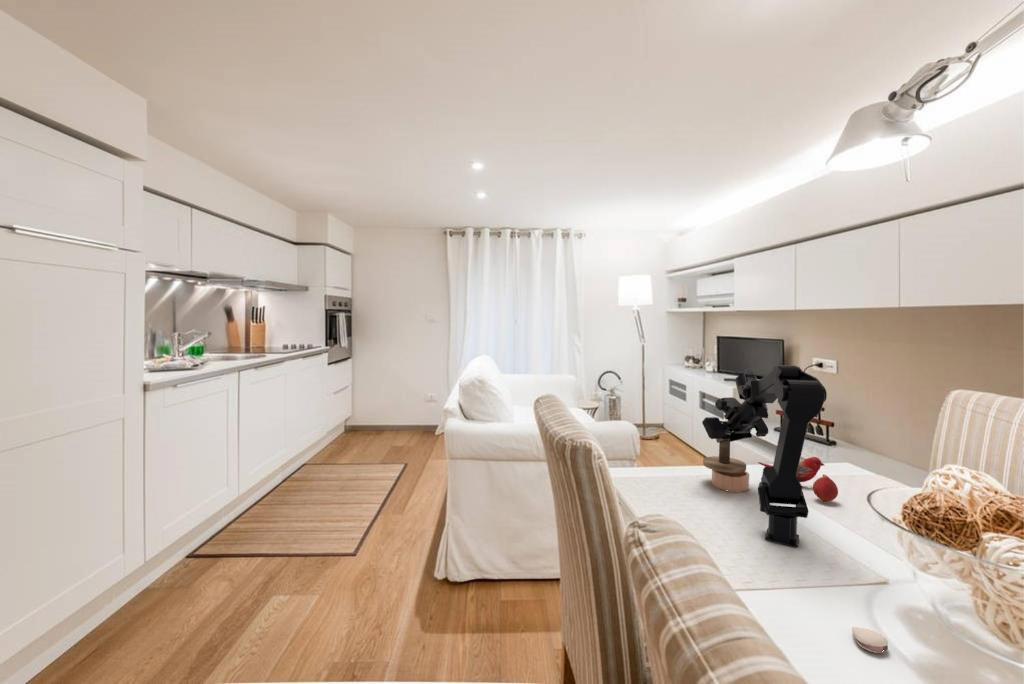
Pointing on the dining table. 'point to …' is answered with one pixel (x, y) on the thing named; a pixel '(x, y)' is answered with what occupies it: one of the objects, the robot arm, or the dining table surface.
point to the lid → (724, 460)
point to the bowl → (731, 480)
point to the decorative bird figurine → (806, 468)
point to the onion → (825, 489)
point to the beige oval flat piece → (870, 640)
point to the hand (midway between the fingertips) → (721, 441)
